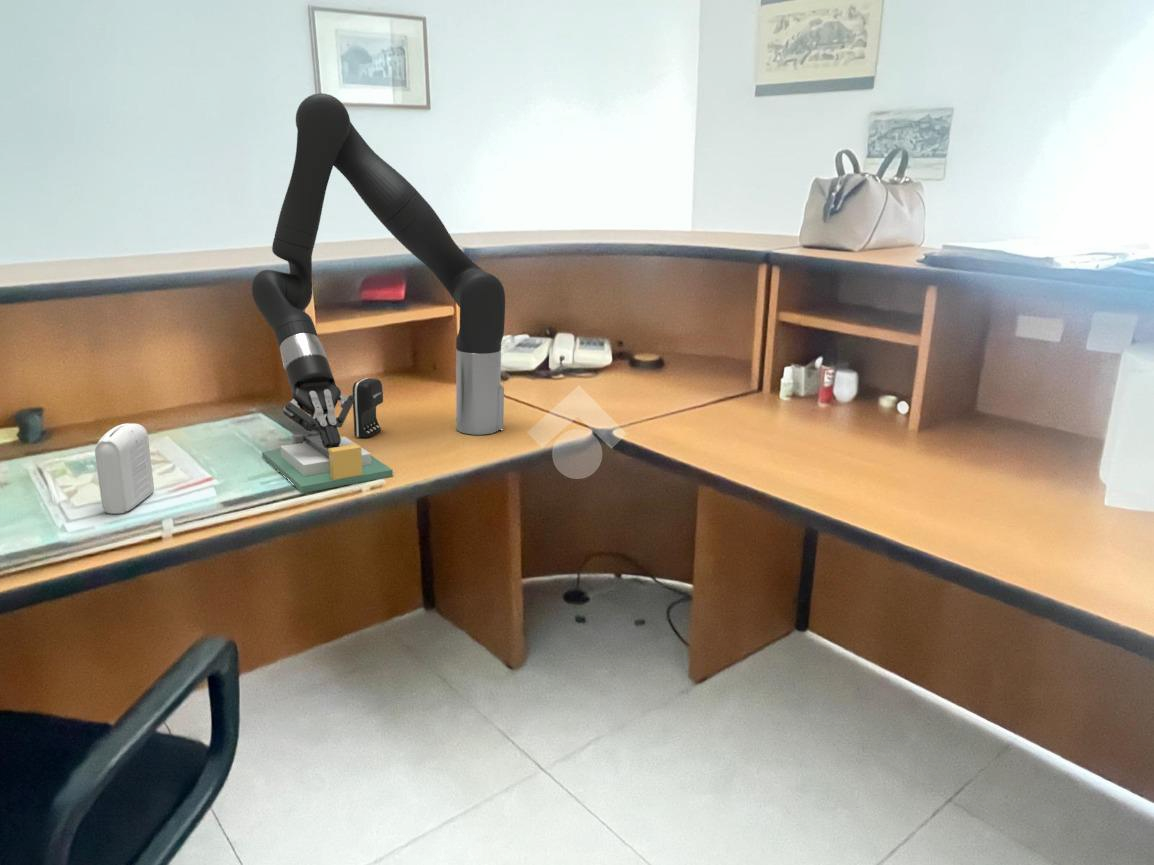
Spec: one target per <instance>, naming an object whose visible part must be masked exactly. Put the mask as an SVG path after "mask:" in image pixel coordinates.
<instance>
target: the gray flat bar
mask: <svg viewBox="0 0 1154 865" xmlns="http://www.w3.org/2000/svg"><path fill="white" fill-rule="evenodd" d="M301 435H302V436H303V443H305V442H307V443H309V444H310V445H312V446H313V447H315V448H316V449H318V450H319V451H321V452H322V453H324V454H325V455H327V456H329V452H328V449H327V448H325V447H324V446H323V444H322V440H321V438H320V435H319V433H318V432H317V431H315V432H309V433H302V434H301ZM338 447H340V446H338Z"/></svg>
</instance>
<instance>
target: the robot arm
mask: <svg viewBox="0 0 1154 865" xmlns="http://www.w3.org/2000/svg"><path fill="white" fill-rule="evenodd" d="M295 126H296V128H297V129H296V130H297V134H296V136H297V137H296V149H295V156H294V162H293V168H292V171H291V176H290V180H289V183H288V185H287V189H286V192H285V196H284V199H283V202H282V205H281V208H280V212H279V214H278V219H277V224H276V228H275V233H274V238H273V240H272V241H273V242H272V245H271V249H272V250H271V251H272V253H273V255H275V256H276V257H278V258H279V259H281V260H283V261H286V262H287V263H288V266H289V273H286V272H283V271H277V270H273V269H264V270H260V271H259V272H258V273H257V274H256V275H255V276H254V278H253V280H252V283H251V295H252V298H253V301H254V303H255V305H256V307H257V308H258V310H259V312H260V313H261V315H262V316H263V318H264V319H265V320H266V322H267V323H268V325H269V326H270V328H272V330H273V331H274V334H275V338H276V340H277V343H278V346H279V351H280V356H281V361H282V366H283V369H284V370H285V374H286V377H287V381H288V383H289V386H290V390H291V392H292V396H291V400H290V401H287V402H286V403H285V405H284V407H283V410H282V412H283V413H282V414H284V415H285V416H287V417H288V418H289V419H291V420H292V421H293V422H295V423H296V424H297V425H299V426H300V427H302V428H303V429H304V430H306V431H307V432H312V431H315V432H318V433H319V435H320V438H321V440H322V444H323V446H324V447H325V448H327V449H328V448H334V447H338V446H339V444H340V442H341V438H340V437H341V435H340V432H339V429H338V428H342V427H343V425H344V422H345V421H346V419H347V416H348V414H349V412H350V410H351V408H352V407H353V402H354V400H355V397H354V396H353V394H350V395H345V394H343V393H342V391H341V390H340V388H339V387H338V386H337V385H336V381H335V378H334V375H333V372H332V369H331V366H330V363H329V360H328V358H327V355H326V352H325V348H324V346H323V344H322V342H321V341H320V338H319V336H318V333H317V329H316V327H315V324H314V321H313V319H312V317H311V316H310V315H309V314H308V313H307V312H306V311H305V310H306V309H307V307H309V304H310V303H311V302H312V297H313V271H312V269H313V266H312V265H313V264H312V261H313V260H312V259H313V257H312V256H313V252H314V248H315V244H316V241H317V236H318V231H319V226H320V223H321V218H322V213H323V212H322V211H323V206H324V201H325V197H326V192H327V187H328V184H329V180H330V178H331V173H332V170H333V168H336V170H338V172H340V174H342V176H344V178H346V181H348V182H349V183H350V185H351V187H352V188H353V189H354V191H355V192H356V193H357V195H358V196H359V197H360V198H361V200H362V201H363V203H364V204H365V205H366V206H367V208H368V209H369V210H370V212H372V214H373V215H374V216H375V217H376V219H377V220H378V221H379V222H380V223H381V224H382V225H383V226H384V227H385V229H386V230H387V231H389V233H390V234H391V235H392V236H393V237H394V238H395V239H396V240H398V241H399V243H400V244H401V245H402V246H403V247H404V248H405V249H407V251H408V252H410V254H412V255H413V256H415V257H416V258H417V259H418V260H419V261H420V262H421V263H423V264H424V265H425V266H426V267H427V268H428V269H429V270H430V271H431V273H433V274H434V276H435V277H436V278H437V279H438V281H439V282H440V283H441V284H442V286H443V287H444V288H445V289H446V291H447V292H448V294H449V295H450V296H451V298H452V299H453V300H454V302H455V304H457V306H458V308H459V330H458V333H457V335H456V338H455V339H456V340H455V345H456V346H455V347H456V349H455V355H456V356H455V358H456V359H455V360H456V361H455V365H456V366H455V372H456V373H455V375H456V378H455V379H456V380H455V382H456V386H455V389H456V390H455V391H456V392H455V394H456V395H455V396H456V398H455V399H456V400H455V401H456V403H455V404H456V416H455V418H456V419H455V423H456V426H455V427H456V431H458V432H460V433H463V434H465V435H466V434H467V435H475V436H476V435H479V436H480V435H490V434H495V433H497V432H499V431H498V430H501V429H503V430H504V424H505V423H504V418H505V417H504V412H505V410H504V408H505V407H504V406H505V405H504V404H505V402H504V401H505V387H504V386H503V385H502V384H501V379H502V378H501V376H502V374H501V373H502V372H501V369H502V361H501V360H502V341H503V338H504V335H505V318H506V293H505V289H504V288H505V287H504V286H503V283H502V282H501V280H500V279H499V278H498V277H496V276H495V275H494V274H492V273H490V272H487V271H485V270H483V269H482V268H481V267H480V266H478V264H476V263H475V262H474V261H473V260H472V259H471V258H470V257H469V256H468V255H467V254H466V253H464V251H463V250H462V249H461V248H460V247H459V246H458V245H457V244H456V242H455V240H454V239H453V237H452V236H451V235H450V233H449V230H448V229H447V227H446V226H445V225H444V222H442V220H441V218H440V217H439V215H438V214H437V212H436V211H435V210H434V209H433V207H432V206H431V205H430V204H429V202H428V201H427V200H426V199H425V198H424V197H423V195H422V194H420V192H419V191H418V190H417V188H415V187H414V186H413V185H412V183H410V182H409V181H408V180H407V179H406V177H404V176H403V175H402V174H401V173H400V172H398V171H397V170H396V169H395V168H394V167H393V166H391V165H390V164H389V163H387V161H385V160H384V159H383V158H381V157H380V155H378V154H377V153H376V152H375V151H374V150H373V149H372V148H371V146H370V145H369V144H368V143H367V141H365V139H364V137H362V135H360V133H359V132H358V130H357V129H356V128H355V125H353V123H352V122H351V119H350V114H349V112H348V110H347V108H346V107H345V105H344V104H343V102H342V101H341V100H339V99H338V98H337V97H335V96H334V95H331V94H327V93H321V92H319V93H314V94H311V95H309V96H307V97H305V98H304V99H303V100H302V101H301V103H300V104H299V106H298V107H297V109H296V114H295ZM338 402H339V406H340V408H341V411H340V413H339V415H338V416H337V417H336V414H335V408H336V406H337V404H338ZM496 431H497V432H496ZM501 431H502V430H501ZM494 432H495V433H494Z"/></svg>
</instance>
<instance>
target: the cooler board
mask: <svg viewBox="0 0 1154 865" xmlns="http://www.w3.org/2000/svg"><path fill="white" fill-rule="evenodd" d="M291 436H292V437H291V438H292V444H286V445H281V446H280V448H277V449H270V450H265V451H261V453H262V454H261V455H262V456H261V458H262V459H263V458H264V459H265V460H266V461H267V462H266V461H265V460H264V459H263V460H264V461H265V462H266V463H267V464H269V465H270V464H271V465H272V466H273V467H274V468H275V469H277V470H278V471H279V472H280V473H281V474H282V475H284V476H285V477H286V478H288V479H289V480H290V481H291V482H292V483H293V484H294V485H295V486H296V487H295V486H294V487H295V488H296V489H297V490H298V492H301V494H306V493H311V492H316V491H321V490H327V489H332V488H338V487H342V486H343V487H344V486H347V485H353V484H360V483H364V482H369V481H374V480H380V479H381V480H382V479H384V478H391V477H393V476H394V474H393V473H394V472H393V469H392V468H391V467H389V466H388V465H386V464H384V463H383V462H382V461H380V460H378V459H377V458H376V457H375V456H372V453H370V452H369V451H367V450H366V449H364V448H363V447H362V446H360V445H359V444H357V443H355V442H354V441H352V440H351V439H349V438H348V437H346V436H344V435H343V436H340V438H341V442H340V444H339V446H340V447H334V448H328V452H329V456H327V455H325V454H324V453H322V452H321V451H319V450H318V449H316V448H315V447H313V446H312V445H310V444H309V443H307V442H306V441H305V442H303V436H302V434H301V433H298V434H297V433H296V434H292V435H291ZM271 465H270V466H271ZM272 466H271V467H272ZM273 467H272V468H273ZM274 468H273V469H274ZM275 469H274V470H275ZM277 470H276V471H277ZM278 471H277V472H278ZM279 472H278V473H279ZM280 473H279V474H280ZM281 474H280V475H281ZM282 475H281V476H282ZM286 478H285V479H286Z"/></svg>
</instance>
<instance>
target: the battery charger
mask: <svg viewBox="0 0 1154 865" xmlns="http://www.w3.org/2000/svg"><path fill="white" fill-rule="evenodd" d="M352 395H353V396H354V397H355V400H354V402H353V404H352V410H353V412H352V414H353V429H354V430H353V432H354V437H355V438H371V437H373V436H375V435H376V434H377V433H380V432H381V430H382V428H381V425H380V424H379V422H378V418H377V407H378V406H380V404H382V403H383V402H384V392H383V383H382V382H381V380H380V379H378V378H371V377H364V378H362V379H359V380H358V381H355V382H354V384H353V386H352Z"/></svg>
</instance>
